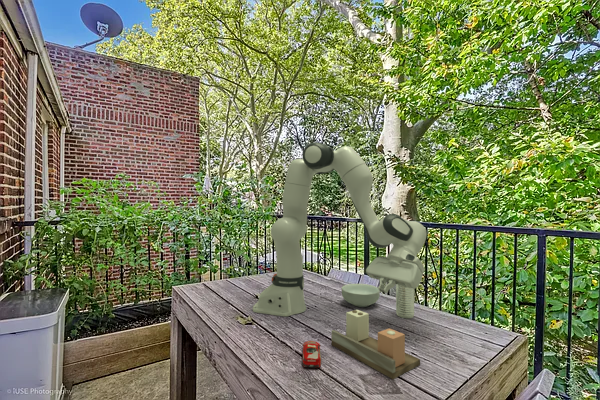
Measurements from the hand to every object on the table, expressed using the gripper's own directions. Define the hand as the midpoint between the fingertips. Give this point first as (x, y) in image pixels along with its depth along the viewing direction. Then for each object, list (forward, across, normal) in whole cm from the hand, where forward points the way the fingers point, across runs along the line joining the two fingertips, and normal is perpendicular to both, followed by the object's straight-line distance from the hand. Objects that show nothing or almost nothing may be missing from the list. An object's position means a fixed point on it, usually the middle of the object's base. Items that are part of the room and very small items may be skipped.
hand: (382, 291), depth 103 cm
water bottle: (-5, -6, +26) cm, 27 cm away
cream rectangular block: (+17, 0, +1) cm, 17 cm away
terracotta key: (+20, +16, -2) cm, 25 cm away
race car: (+32, -1, -10) cm, 33 cm away
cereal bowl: (-2, -26, +24) cm, 35 cm away
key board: (+19, +8, +1) cm, 21 cm away
